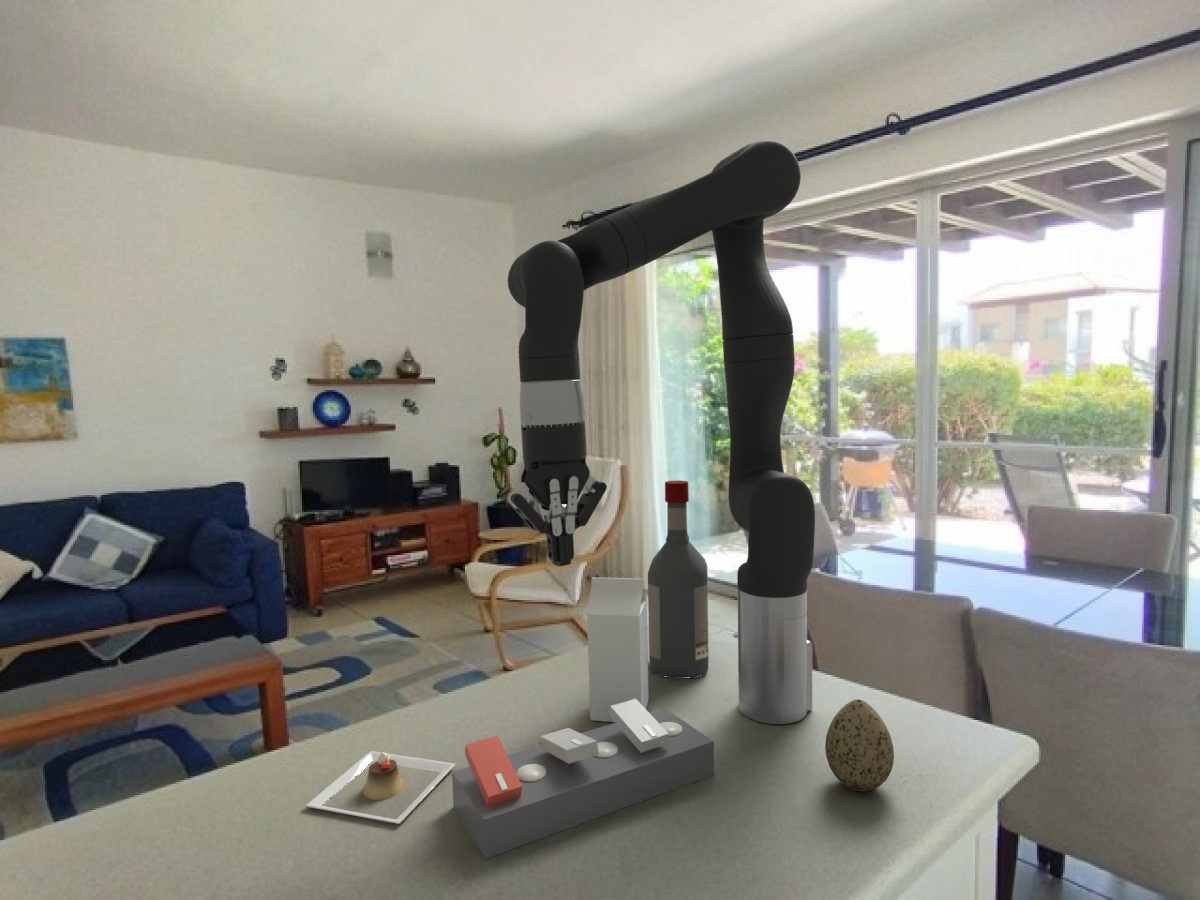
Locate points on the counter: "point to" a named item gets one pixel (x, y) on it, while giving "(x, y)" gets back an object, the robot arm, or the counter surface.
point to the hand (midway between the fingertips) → (561, 564)
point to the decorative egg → (859, 747)
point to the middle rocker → (569, 745)
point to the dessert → (381, 781)
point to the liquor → (678, 596)
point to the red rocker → (493, 771)
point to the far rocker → (638, 725)
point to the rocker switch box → (581, 784)
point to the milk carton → (616, 645)
